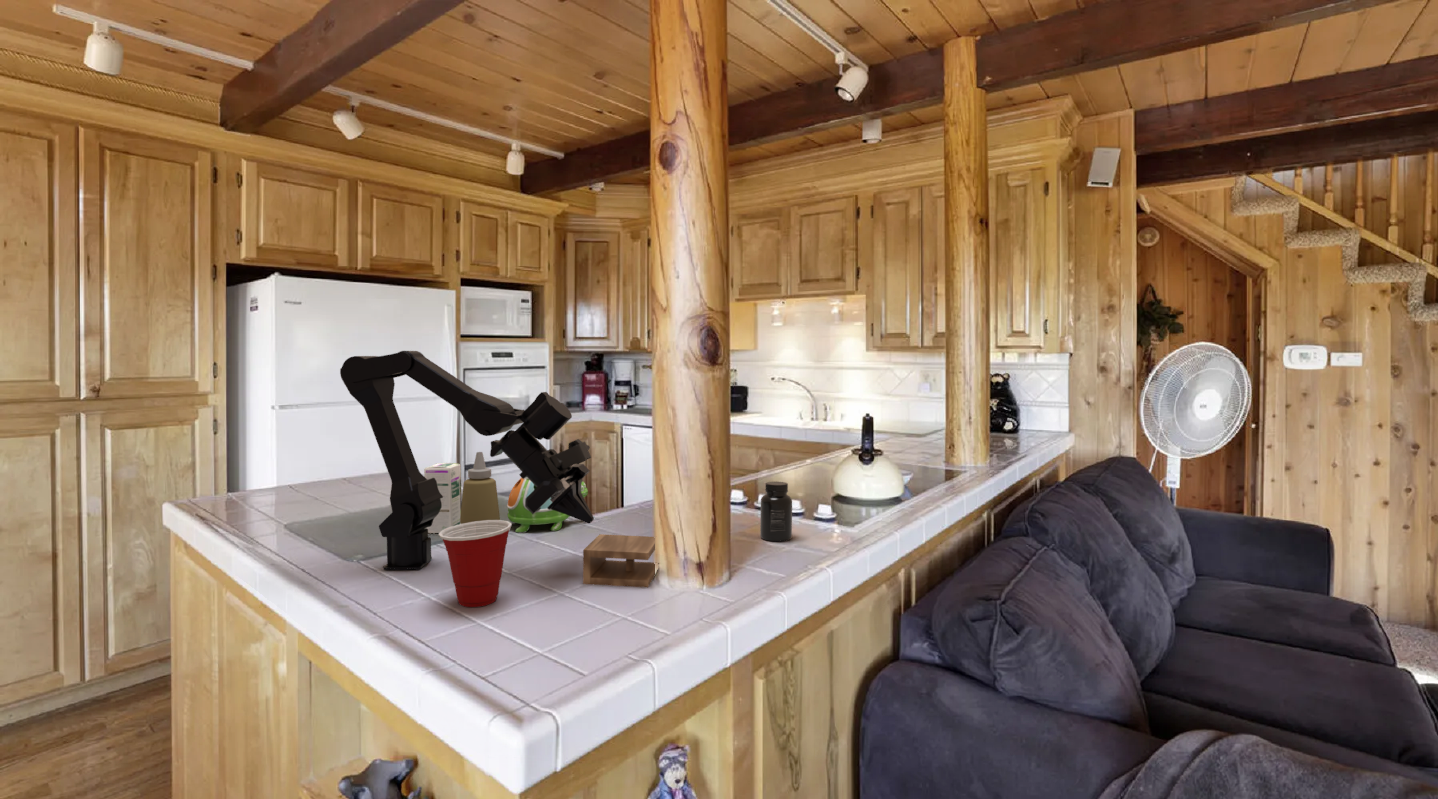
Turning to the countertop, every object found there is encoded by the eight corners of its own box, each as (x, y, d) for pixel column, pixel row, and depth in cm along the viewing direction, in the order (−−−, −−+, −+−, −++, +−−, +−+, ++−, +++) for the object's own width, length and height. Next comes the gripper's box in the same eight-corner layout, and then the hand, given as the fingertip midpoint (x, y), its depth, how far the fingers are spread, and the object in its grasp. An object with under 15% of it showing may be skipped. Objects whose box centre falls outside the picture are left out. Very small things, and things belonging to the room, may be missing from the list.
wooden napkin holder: (583, 549, 115) (648, 553, 114) (599, 534, 125) (659, 537, 123) (583, 584, 115) (647, 587, 114) (599, 566, 125) (659, 569, 124)
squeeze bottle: (487, 542, 138) (486, 456, 137) (451, 540, 140) (450, 454, 139) (507, 532, 146) (506, 450, 145) (473, 530, 148) (472, 448, 147)
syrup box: (452, 534, 144) (451, 467, 143) (424, 533, 144) (423, 466, 143) (462, 527, 150) (461, 462, 149) (436, 526, 150) (435, 462, 149)
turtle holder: (594, 528, 152) (595, 475, 151) (511, 536, 144) (511, 480, 143) (581, 515, 163) (582, 466, 162) (503, 522, 155) (503, 471, 154)
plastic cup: (456, 587, 112) (456, 516, 111) (521, 589, 112) (521, 518, 111) (426, 612, 101) (425, 534, 100) (497, 614, 101) (497, 536, 100)
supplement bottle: (797, 537, 147) (798, 482, 146) (782, 544, 141) (784, 487, 140) (769, 532, 150) (770, 479, 150) (754, 538, 145) (755, 483, 144)
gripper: (543, 432, 109) (609, 502, 109) (579, 421, 128) (635, 480, 128) (497, 478, 111) (562, 547, 110) (539, 460, 129) (594, 520, 129)
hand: (591, 521), depth 119 cm, fingers closed
